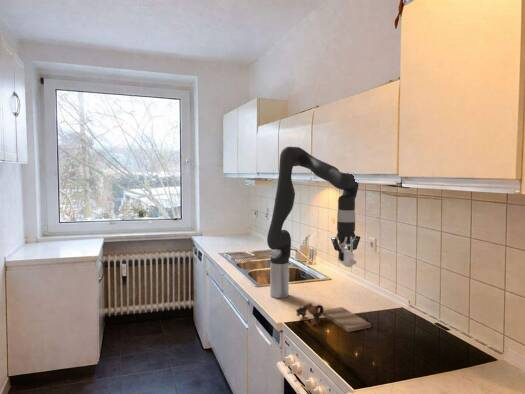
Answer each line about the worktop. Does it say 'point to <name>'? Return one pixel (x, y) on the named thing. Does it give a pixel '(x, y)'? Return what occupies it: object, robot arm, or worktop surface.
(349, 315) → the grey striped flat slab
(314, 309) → the brown irregular piece
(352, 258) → the plug
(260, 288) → the worktop surface
